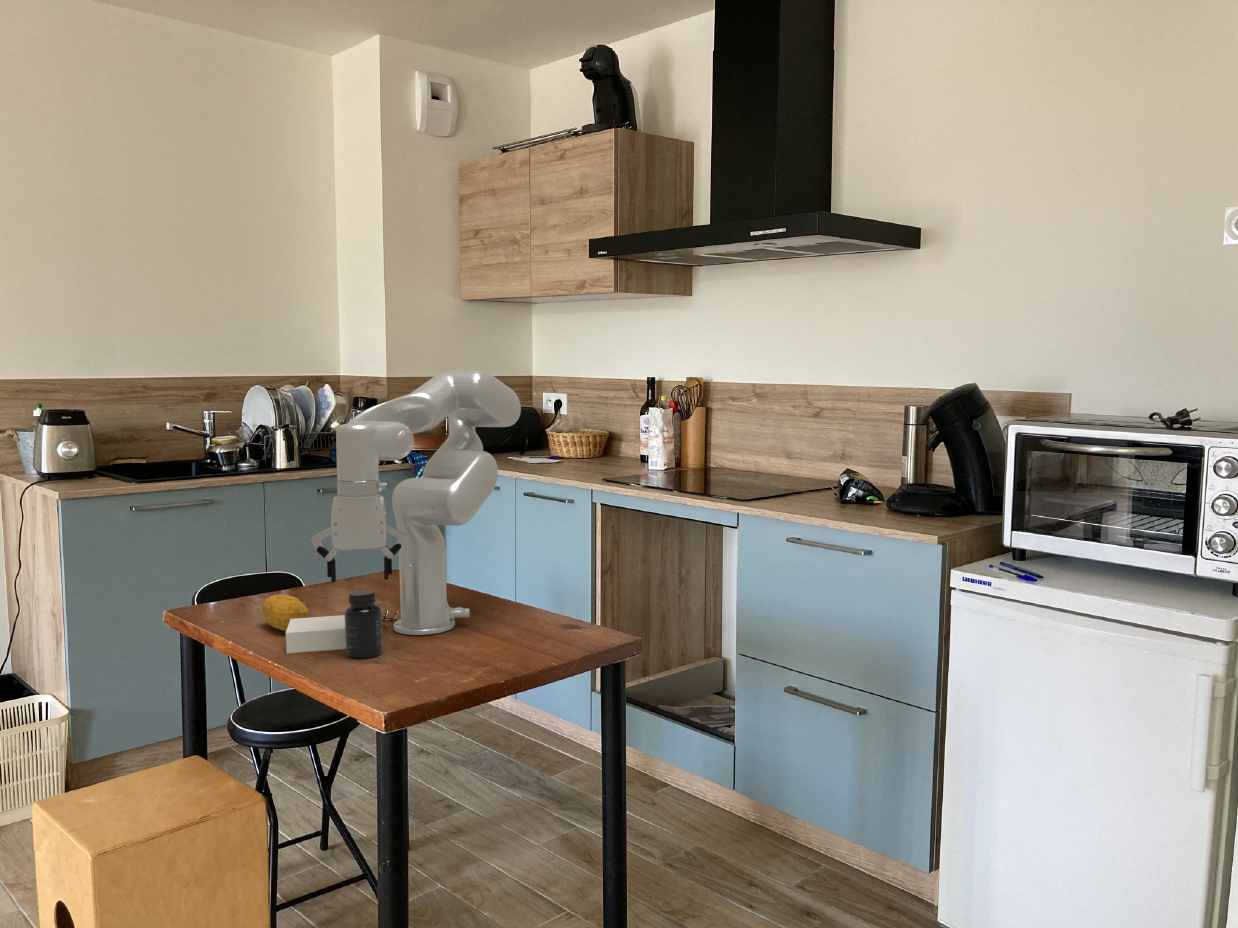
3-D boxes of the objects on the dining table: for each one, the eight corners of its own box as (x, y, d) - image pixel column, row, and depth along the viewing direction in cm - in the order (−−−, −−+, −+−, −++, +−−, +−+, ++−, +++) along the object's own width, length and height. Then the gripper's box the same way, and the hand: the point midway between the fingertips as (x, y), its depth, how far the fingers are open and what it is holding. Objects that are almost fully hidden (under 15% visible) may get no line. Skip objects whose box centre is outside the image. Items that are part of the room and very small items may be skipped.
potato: (291, 619, 208) (290, 588, 207) (316, 633, 196) (315, 600, 196) (258, 625, 203) (256, 593, 203) (281, 639, 192) (279, 605, 191)
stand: (347, 634, 196) (347, 614, 195) (346, 648, 185) (345, 628, 185) (291, 638, 193) (290, 618, 193) (286, 653, 182) (285, 633, 182)
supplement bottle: (368, 646, 186) (366, 586, 185) (390, 653, 182) (388, 591, 181) (338, 655, 181) (336, 593, 180) (360, 661, 177) (357, 598, 176)
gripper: (404, 486, 184) (406, 573, 186) (311, 488, 180) (313, 578, 181) (406, 490, 177) (407, 581, 178) (308, 492, 173) (310, 586, 174)
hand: (360, 579), depth 180 cm, fingers open, 9 cm apart
